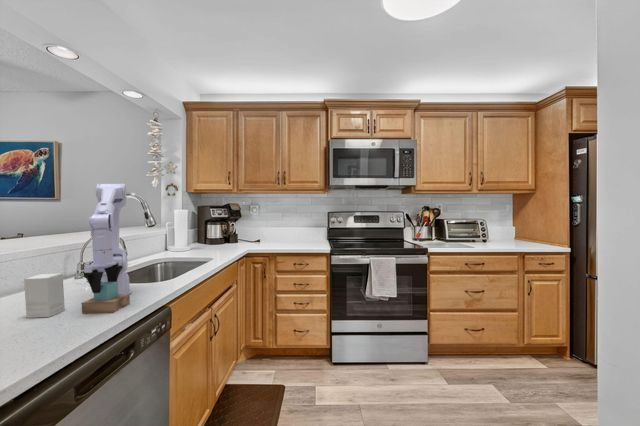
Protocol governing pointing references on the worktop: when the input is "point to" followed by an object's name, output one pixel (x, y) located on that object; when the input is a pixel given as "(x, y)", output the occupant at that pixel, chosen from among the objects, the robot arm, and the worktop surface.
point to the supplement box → (44, 295)
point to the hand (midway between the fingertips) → (104, 289)
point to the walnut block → (105, 305)
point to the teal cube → (107, 291)
